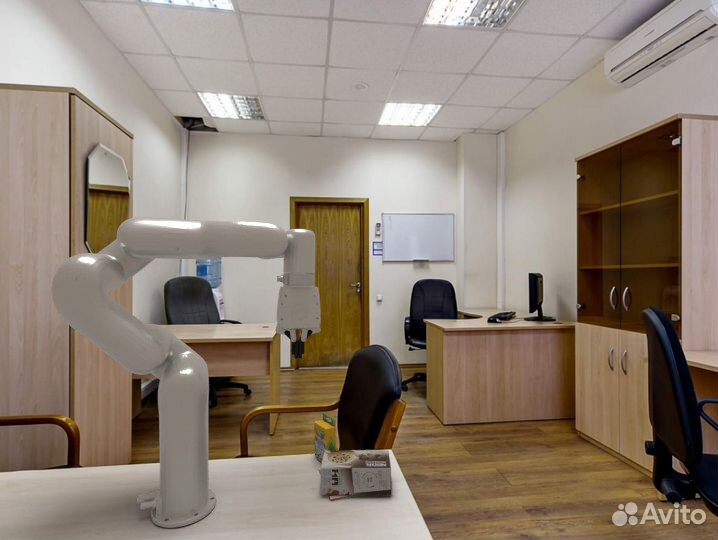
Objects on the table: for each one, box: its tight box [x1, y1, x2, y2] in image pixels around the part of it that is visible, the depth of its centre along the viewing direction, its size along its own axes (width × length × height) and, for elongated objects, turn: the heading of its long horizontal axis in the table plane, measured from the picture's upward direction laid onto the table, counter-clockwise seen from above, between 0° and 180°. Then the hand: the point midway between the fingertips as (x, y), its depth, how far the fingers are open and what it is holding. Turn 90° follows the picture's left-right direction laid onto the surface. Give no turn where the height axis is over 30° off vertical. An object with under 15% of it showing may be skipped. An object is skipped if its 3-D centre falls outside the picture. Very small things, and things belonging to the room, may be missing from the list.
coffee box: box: [319, 449, 393, 497], centre depth 88 cm, size 9×6×16 cm
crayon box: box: [313, 412, 337, 463], centre depth 100 cm, size 7×3×12 cm, turn 33°
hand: (297, 357), depth 90 cm, fingers closed
